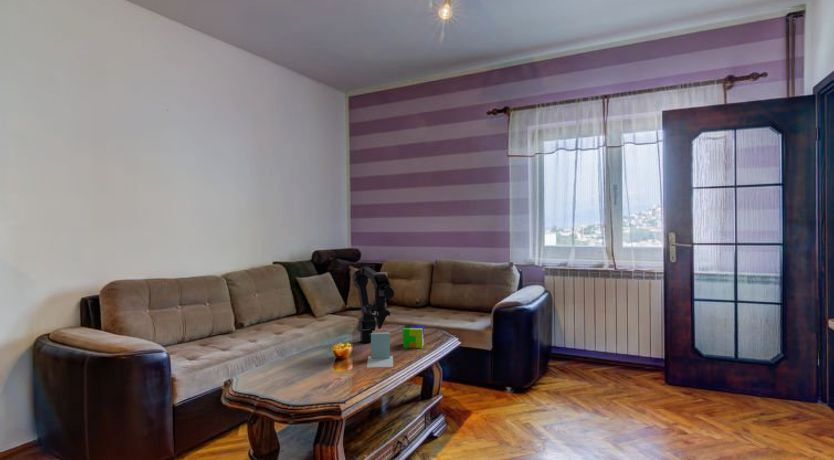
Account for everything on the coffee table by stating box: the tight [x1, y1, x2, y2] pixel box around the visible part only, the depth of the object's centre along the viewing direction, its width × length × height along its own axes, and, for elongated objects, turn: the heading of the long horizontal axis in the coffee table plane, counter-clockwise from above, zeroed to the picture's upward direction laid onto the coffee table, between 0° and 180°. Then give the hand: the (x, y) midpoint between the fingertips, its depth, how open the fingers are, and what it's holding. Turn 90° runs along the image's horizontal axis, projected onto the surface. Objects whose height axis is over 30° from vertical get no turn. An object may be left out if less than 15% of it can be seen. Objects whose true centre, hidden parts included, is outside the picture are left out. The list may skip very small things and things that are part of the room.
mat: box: [366, 355, 394, 368], centre depth 216 cm, size 17×12×1 cm
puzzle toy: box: [402, 324, 425, 350], centre depth 244 cm, size 10×10×10 cm
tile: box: [370, 332, 391, 359], centre depth 221 cm, size 2×9×12 cm, turn 93°
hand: (379, 328), depth 235 cm, fingers closed
